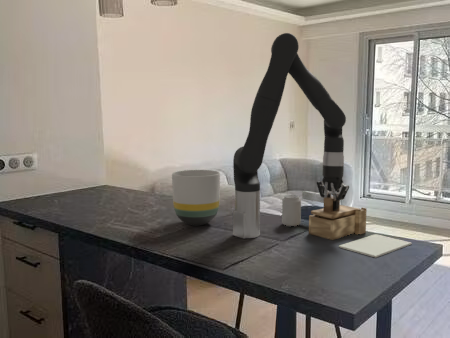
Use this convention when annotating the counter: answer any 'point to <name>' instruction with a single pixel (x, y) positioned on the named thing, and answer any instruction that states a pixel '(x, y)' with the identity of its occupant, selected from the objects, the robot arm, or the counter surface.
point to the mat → (375, 245)
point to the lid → (328, 210)
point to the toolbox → (338, 225)
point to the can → (291, 210)
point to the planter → (196, 195)
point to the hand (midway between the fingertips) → (331, 209)
